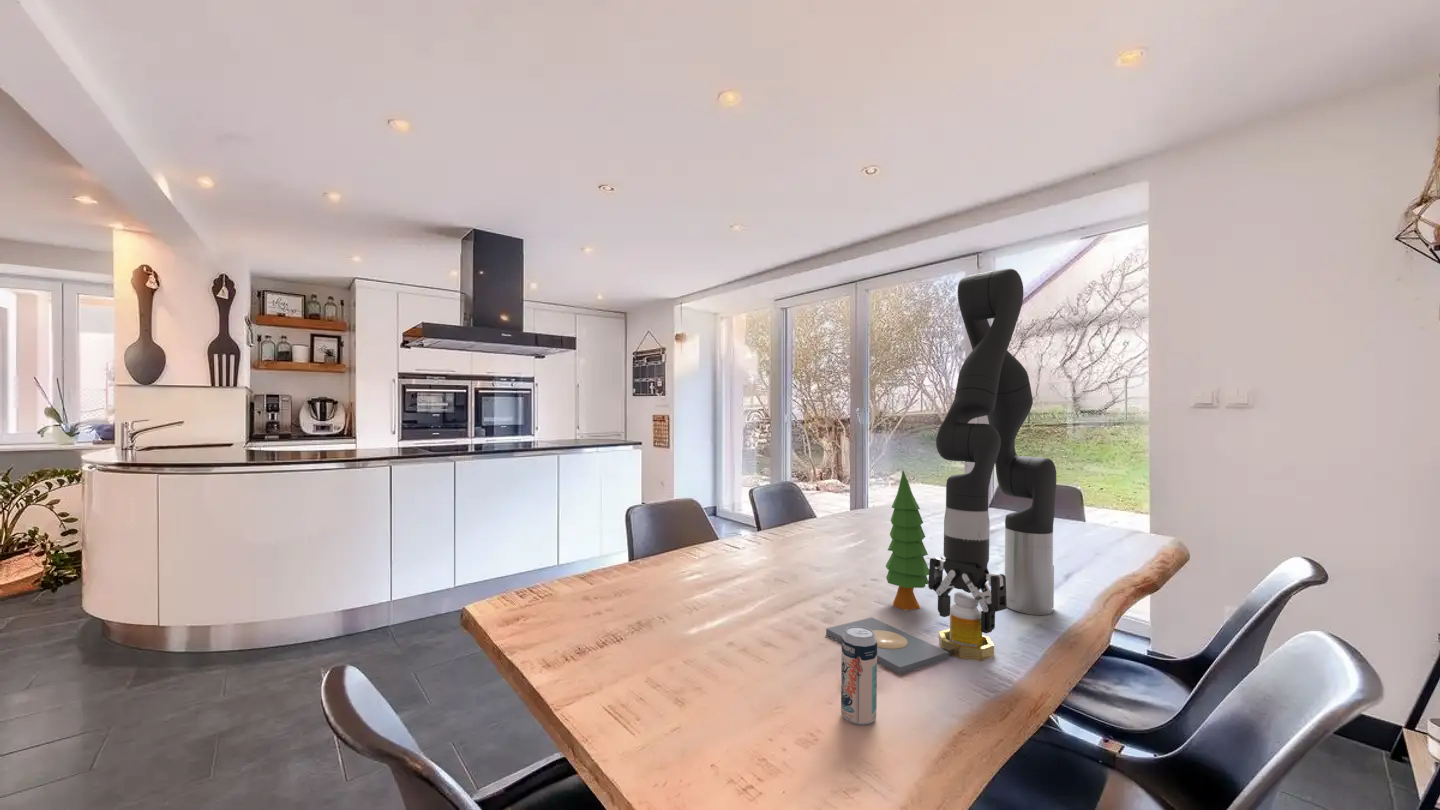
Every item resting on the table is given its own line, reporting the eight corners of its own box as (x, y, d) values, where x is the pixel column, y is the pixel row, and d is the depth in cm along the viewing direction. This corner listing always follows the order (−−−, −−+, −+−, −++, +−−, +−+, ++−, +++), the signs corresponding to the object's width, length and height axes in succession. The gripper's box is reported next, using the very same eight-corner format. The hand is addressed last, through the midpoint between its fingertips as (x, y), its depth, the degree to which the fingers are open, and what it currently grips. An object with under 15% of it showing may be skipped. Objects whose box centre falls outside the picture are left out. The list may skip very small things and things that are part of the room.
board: (871, 623, 111) (871, 616, 111) (948, 658, 96) (948, 651, 96) (826, 634, 105) (826, 627, 105) (900, 674, 90) (900, 666, 90)
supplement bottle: (985, 657, 96) (986, 602, 96) (952, 654, 97) (953, 599, 97) (977, 644, 102) (978, 592, 102) (946, 642, 103) (947, 589, 103)
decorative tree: (876, 603, 123) (878, 468, 123) (899, 594, 129) (901, 466, 129) (916, 616, 115) (918, 472, 116) (939, 606, 121) (940, 470, 122)
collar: (964, 634, 106) (964, 624, 106) (1006, 652, 98) (1006, 641, 98) (925, 646, 100) (925, 635, 100) (967, 666, 93) (967, 654, 93)
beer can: (836, 709, 79) (837, 625, 79) (869, 708, 79) (870, 624, 80) (847, 728, 74) (848, 639, 74) (881, 727, 75) (882, 638, 75)
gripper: (1016, 539, 95) (1015, 634, 95) (946, 524, 108) (944, 608, 107) (989, 544, 92) (988, 642, 91) (920, 527, 104) (918, 614, 104)
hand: (964, 623), depth 99 cm, fingers open, 8 cm apart
